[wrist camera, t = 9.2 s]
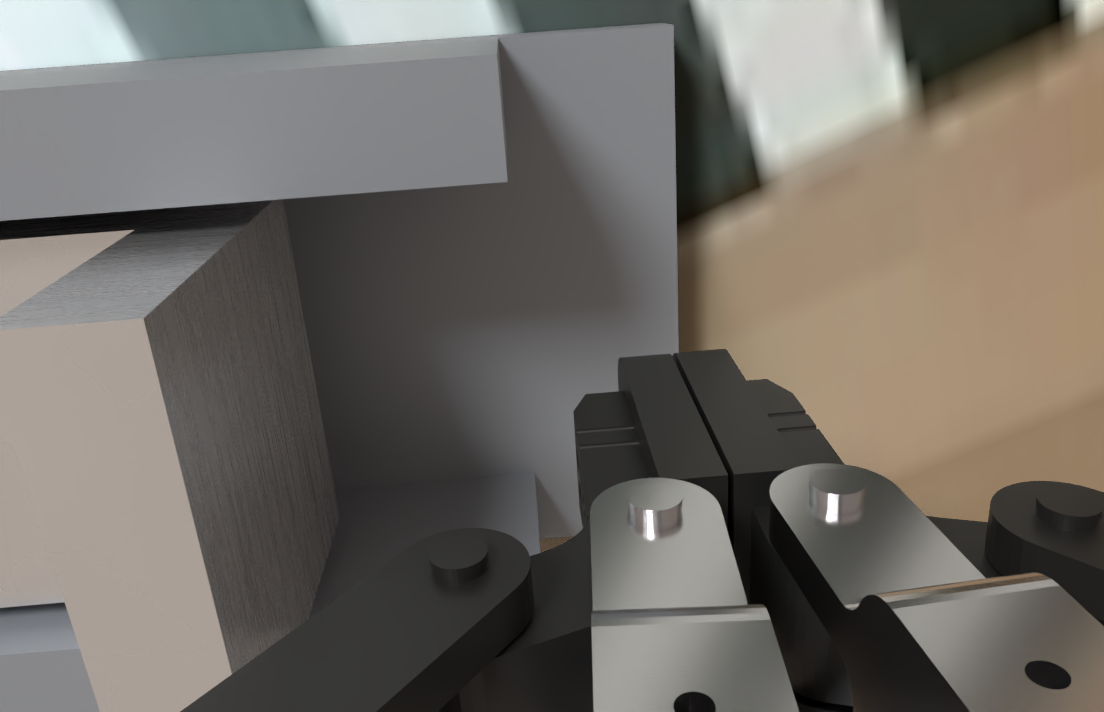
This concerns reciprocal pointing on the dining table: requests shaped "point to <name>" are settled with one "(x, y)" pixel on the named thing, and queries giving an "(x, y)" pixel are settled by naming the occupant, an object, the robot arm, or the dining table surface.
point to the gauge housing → (395, 259)
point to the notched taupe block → (160, 442)
